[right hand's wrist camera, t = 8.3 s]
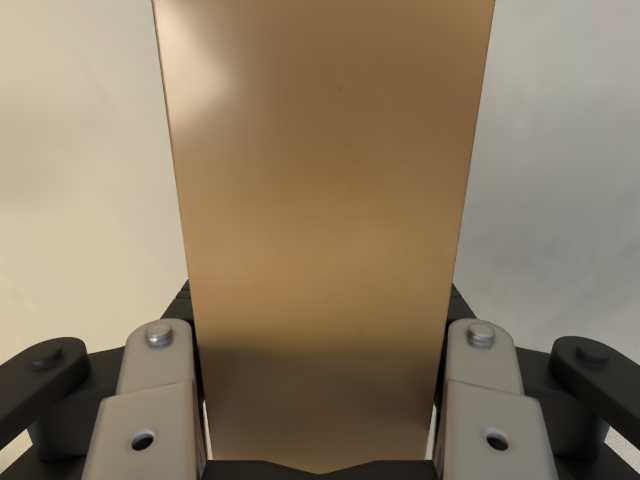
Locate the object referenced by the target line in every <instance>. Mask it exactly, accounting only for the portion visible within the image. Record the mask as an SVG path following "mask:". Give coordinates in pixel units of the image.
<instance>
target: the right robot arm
mask: <svg viewBox="0 0 640 480" xmlns="http://www.w3.org/2000/svg"><path fill="white" fill-rule="evenodd" d="M204 400H205V397H204V389H203V382H202V374H201V367H200V359H199V352H198V344H197V337H196V330H195V322H194V315H193V307H192V300H191V292H190V285H189V279H188V280H187V281H186V283H185V284H184V285H183V287H182V288H181V291H179V293H178V294H177V295H176V299H174V300H173V301H172V303H171V304H170V305H169V307H168V308H167V310H166V311H165V313H164V314H163V315H162V317H161V318H160V320H155V321H152V322H149V323H147V324H144V325H142V326H140V327H139V328H137V329H136V330H135V331H133V332H132V333H131V334H130V335H129V337H128V338H127V341H126V345H125V346H123V347H120V348H116V349H111V350H106V351H101V352H96V353H91V354H88V353H87V350H86V346H85V343H84V342H83V341H82V340H80V339H78V338H73V337H61V338H55V339H50V340H47V341H44V342H41V343H38V344H36V345H33V346H31V347H29V348H27V349H25V350H24V351H22V352H20V353H19V354H17V355H16V356H14V357H13V358H11V359H10V360H8V361H7V362H5V363H3V364H2V365H0V450H2V449H3V448H4V447H5V446H6V445H7V444H9V443H10V442H11V441H12V440H13V439H15V438H16V437H17V436H18V435H19V434H20V433H22V432H23V431H24V430H25V429H26V428H27V431H28V433H29V436H30V438H31V441H32V443H33V445H32V446H31V447H30V448H29V449H28V450H27V451H26V452H24V453H23V454H22V455H21V456H20V457H19V458H18V459H17V460H16V461H15V462H13V463H12V464H11V465H10V466H9V467H8V468H7V469H6V470H5V471H4V472H2V473H1V474H0V480H640V474H639V473H638V472H636V471H635V470H634V469H633V468H632V467H631V466H630V465H629V464H628V463H627V462H625V461H624V460H623V459H622V458H621V457H620V456H619V455H618V454H617V453H616V452H614V451H613V450H612V449H611V448H610V447H609V446H608V445H607V444H606V443H604V440H605V438H606V435H607V433H608V430H609V427H610V426H611V427H613V428H614V429H615V430H616V431H617V432H618V433H620V434H621V435H622V436H623V437H624V438H625V439H627V440H628V441H629V442H630V443H631V444H633V445H634V446H635V447H636V448H637V449H638V450H640V365H638V364H636V363H635V362H633V361H632V360H630V359H629V358H627V357H626V356H624V355H623V354H621V353H620V352H618V351H616V350H615V349H613V348H611V347H609V346H607V345H605V344H603V343H600V342H598V341H595V340H592V339H588V338H584V337H577V336H565V337H561V338H558V339H556V340H555V341H554V344H553V347H552V351H551V354H549V353H544V352H539V351H534V350H529V349H524V348H520V347H516V346H515V345H514V341H513V338H512V337H511V335H510V334H509V333H508V332H507V331H505V330H504V329H503V328H501V327H500V326H498V325H496V324H493V323H491V322H488V321H485V320H480V319H477V317H476V316H475V315H474V313H473V312H472V310H471V309H470V307H469V306H468V304H467V303H466V301H465V300H464V299H463V298H462V296H461V294H460V293H459V291H458V290H457V288H456V287H455V286H454V284H453V283H452V286H451V293H450V300H449V306H448V313H447V319H446V326H445V332H444V339H443V345H442V352H441V358H440V365H439V371H438V378H437V384H436V391H435V398H434V404H435V407H436V415H435V425H434V437H433V449H432V460H376V461H372V462H368V463H364V464H360V465H356V466H353V467H349V468H345V469H341V470H337V471H333V472H329V473H325V474H315V473H311V472H307V471H303V470H299V469H295V468H291V467H287V466H284V465H280V464H276V463H272V462H268V461H264V460H208V449H207V437H206V425H205V415H204V409H203V403H204Z"/></svg>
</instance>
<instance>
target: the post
mask: <svg viewBox="0 0 640 480" xmlns="http://www.w3.org/2000/svg"><path fill="white" fill-rule="evenodd" d="M151 2H152V9H153V16H154V24H155V31H156V39H157V46H158V54H159V61H160V69H161V76H162V84H163V91H164V98H165V106H166V113H167V121H168V128H169V136H170V143H171V151H172V158H173V166H174V173H175V180H176V188H177V195H178V203H179V210H180V218H181V225H182V233H183V240H184V248H185V255H186V262H187V270H188V277H189V285H190V292H191V300H192V307H193V315H194V322H195V330H196V337H197V344H198V352H199V359H200V367H201V374H202V382H203V389H204V397H205V404H206V412H207V419H208V426H209V434H210V441H211V449H212V456H213V460H264V461H268V462H272V463H276V464H280V465H284V466H287V467H291V468H295V469H299V470H303V471H307V472H311V473H315V474H325V473H329V472H333V471H337V470H341V469H345V468H349V467H353V466H356V465H360V464H364V463H368V462H372V461H376V460H425V456H426V450H427V443H428V437H429V430H430V424H431V417H432V411H433V404H434V398H435V391H436V384H437V378H438V371H439V365H440V358H441V352H442V345H443V339H444V332H445V326H446V319H447V313H448V306H449V300H450V293H451V286H452V280H453V273H454V267H455V260H456V254H457V247H458V241H459V234H460V228H461V221H462V215H463V208H464V202H465V195H466V189H467V182H468V175H469V169H470V162H471V156H472V149H473V143H474V136H475V130H476V123H477V117H478V110H479V104H480V97H481V91H482V84H483V77H484V71H485V64H486V58H487V51H488V45H489V38H490V32H491V25H492V19H493V12H494V6H495V0H151Z"/></svg>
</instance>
